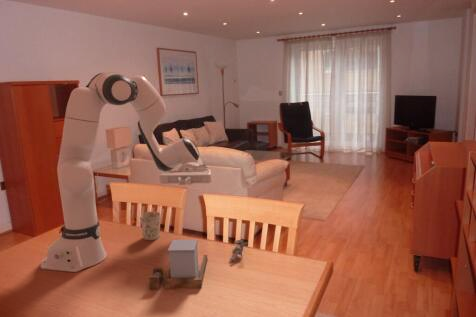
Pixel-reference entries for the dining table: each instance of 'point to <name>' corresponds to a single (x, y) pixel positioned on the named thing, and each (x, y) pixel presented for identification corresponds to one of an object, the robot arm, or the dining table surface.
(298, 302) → the dining table surface
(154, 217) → the mug
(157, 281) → the bay
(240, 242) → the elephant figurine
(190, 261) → the gray rectangular block
